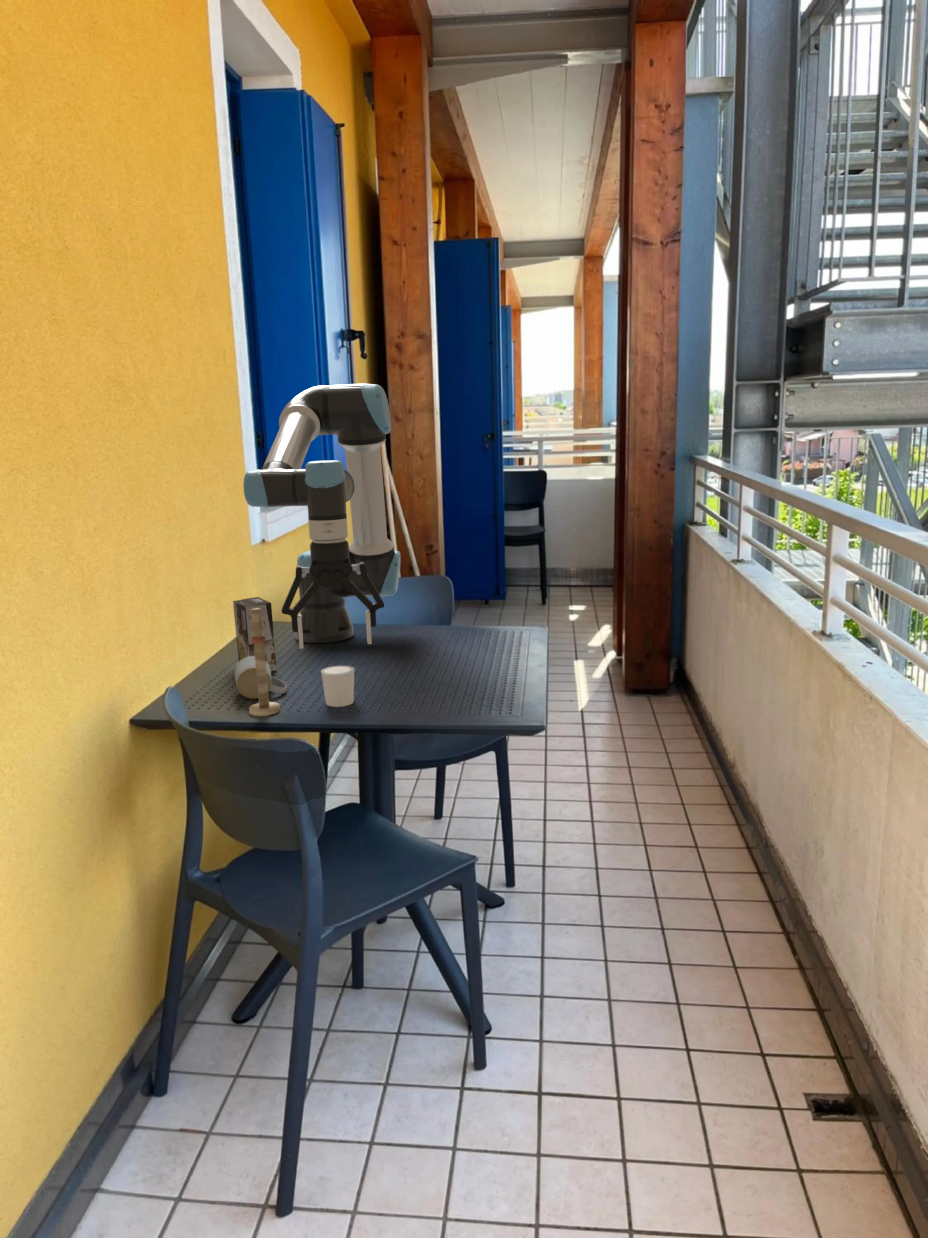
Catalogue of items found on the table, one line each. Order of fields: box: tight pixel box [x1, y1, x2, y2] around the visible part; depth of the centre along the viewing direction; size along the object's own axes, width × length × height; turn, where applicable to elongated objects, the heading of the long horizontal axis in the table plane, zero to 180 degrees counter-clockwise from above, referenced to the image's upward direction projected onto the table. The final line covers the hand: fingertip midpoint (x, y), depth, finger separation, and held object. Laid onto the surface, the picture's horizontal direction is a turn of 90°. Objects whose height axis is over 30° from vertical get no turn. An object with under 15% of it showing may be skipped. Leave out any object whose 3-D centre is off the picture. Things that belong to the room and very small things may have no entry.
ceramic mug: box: [234, 656, 288, 700], centre depth 193 cm, size 11×8×8 cm
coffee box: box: [232, 596, 277, 672], centre depth 211 cm, size 9×6×16 cm
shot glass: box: [320, 665, 355, 708], centre depth 186 cm, size 7×7×7 cm
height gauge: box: [248, 608, 281, 717], centre depth 180 cm, size 6×6×21 cm
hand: (335, 645), depth 184 cm, fingers open, 13 cm apart
